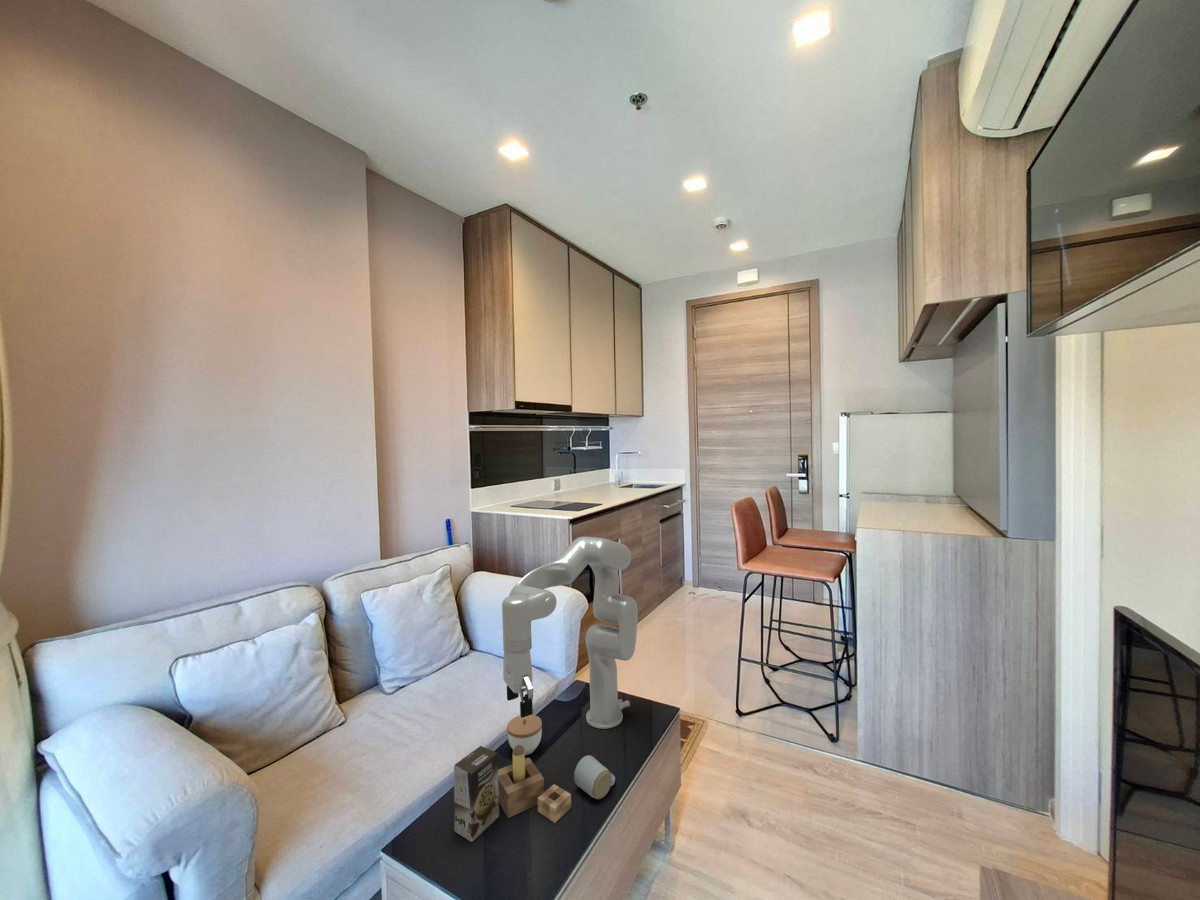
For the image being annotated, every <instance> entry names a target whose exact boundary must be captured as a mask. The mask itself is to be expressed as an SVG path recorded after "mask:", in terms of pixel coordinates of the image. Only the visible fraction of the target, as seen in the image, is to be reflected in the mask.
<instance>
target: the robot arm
mask: <svg viewBox="0 0 1200 900" xmlns="http://www.w3.org/2000/svg"><path fill="white" fill-rule="evenodd" d="M631 562H632V554H631V550H630V548H629V547H628V546H627V545H626V544H623V543H620V542H617V541H613V540H611V539H607V538H604V537H595V536H579V537H576V538H575V539H574V540H573V541H572V542H570V544H569V545H568V546H567V547H566V548H565V549H564V550H563V551H562V553H561V554H560V555H558V556H557V558H555V560H553V561H551V562H548V563H546V564H544V565H541V566H540V567H537V568H534V569H533V570H531V571H529V572H528V573H526V574H525V575H524V576H523V577H521V578H520V580H519V581H518V582H517V583H516V584H515V585H514V586H513V587H512V589H511V590H510V592H509V595H508V596H507V597H505V598H504V599H503V600H502V603H501V604H502V605H501V609H502V610H501V614H502V641H503V643H502V644H503V647H502V648H503V663H502V664H503V665H502V669H503V671H502V672H503V673H502V675H503V677H502V678H503V679H502V680H503V682H504V683H505V684H506V701H507V702H508V701H512V700H515V699H518V698H519V697H520V701H519V714H520V715H519V716H521V718H523V717H526V716H529V715H533V713H534V712H533V700H534V691H535V690H534V687H533V668H532V667H533V666H532V657H531V650H532V648H533V643H532V642H533V641H532V622H533V621H536V620H541V619H544V618H547V617H549V616H550V615H552V613H554V612H555V609H556V607H557V601H558V600H557V598H556V595H555V594H554V593H553V592H552V591H550V590H548V588H553V587H560V586H564V585H568V584H571V583H573V582H574V581H575V580H576V578H578V577H579V575H580V574H581V573H582V572H583V570H584V569H585V568H586V567H587V566H589V567H590V568H591V570H592V572H593V574H594V592H593V603H592V612H593V616H594V618H595V619H597V620H599V621H602V622H607V623H611V624H615V625H618V627H615V626H612V625H607V624H599V623H598V624H594V625H591V626H589V628H587V631H586V634H585V647H586V650H587V656H588V665H589V666H588V667H589V668H588V669H589V671H588V672H589V673H588V674H589V698H590V699H589V703H590V704H589V706H590V707H589V709H588V711H587V712H586V714H585V719H586V723H587V724H588V725H589V726H590V727H593V728H596V729H600V730H602V729H604V730H605V729H612V728H615V727H617V726H619V725H620V724H621V723H622V721H623V718H624V717H623V712H622V711H623V709H625V708H628V707H630V706H631V704H630V701H629V700H624V701H623V699H622V698H618V697H619V694H618V667H617V666H618V665H617V662H616V660H620V661H625V662H626V661H629V660H631V659H632V658H633V656H634V654H635V651H636V645H637V633H638V632H637V631H638V622H639V621H638V617H639V614H638V613H639V610H638V605H637V601H636V600H635V599H634V598H633V597H631V596H630V595H623V594H620V593H619V592H620V576H619V573H618V571H623V570H624V571H625V570H626V569H627V568H628V567H629V566H630V564H631ZM524 692H526V693H525V695H524Z"/></svg>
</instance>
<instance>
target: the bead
mask: <svg viewBox="0 0 1200 900" xmlns="http://www.w3.org/2000/svg"><path fill="white" fill-rule="evenodd" d="M544 792H545V778H544V777H543V775H542V773H541V772H540V770H539V769H538V768H537V766H536V764H534V762H533V761H532V759H531V758H530V757H525V779H524V780H522V781H520V782H517V783H515V784H513V763H512V764H509V765H506V766H504V767H502V768H498V796H499V804H500V806H501V808H502V810H503V812H504V814H505V816H506V817H507V819H510V818H512V817H513V816H516V815H518V814H520V813H522V812H523V813H524V811H526V810H529V809H531V808H534V807H535V806H538V797H539V796H540V795H542V794H543V793H544Z"/></svg>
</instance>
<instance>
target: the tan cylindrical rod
mask: <svg viewBox="0 0 1200 900" xmlns="http://www.w3.org/2000/svg"><path fill="white" fill-rule="evenodd" d="M525 756H526V755H525V750H524V748H523V746H521V745H517V746H515V747H514V749H512V764H513V784H515V783H517V782H520V781H522V780H524V779H525V759H526V757H525Z"/></svg>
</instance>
